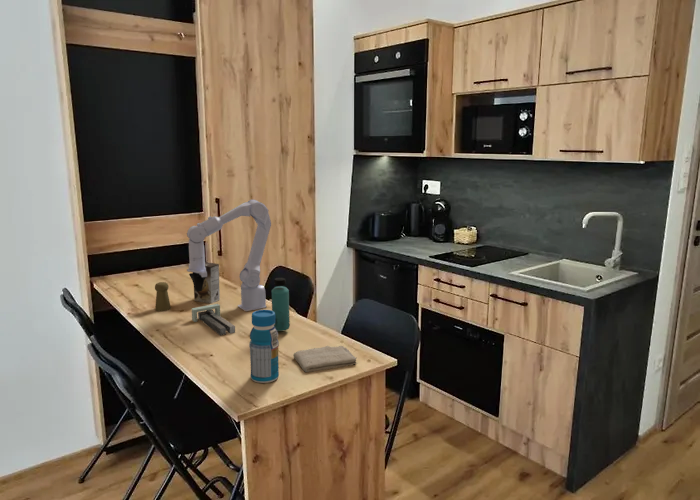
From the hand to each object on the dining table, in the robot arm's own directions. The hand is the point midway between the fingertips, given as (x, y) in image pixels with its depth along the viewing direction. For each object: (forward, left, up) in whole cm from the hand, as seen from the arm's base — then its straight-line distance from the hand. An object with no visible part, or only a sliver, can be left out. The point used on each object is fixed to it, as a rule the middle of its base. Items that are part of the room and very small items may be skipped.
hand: (198, 291), depth 208 cm
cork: (+10, -14, -10) cm, 20 cm away
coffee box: (-9, -15, -10) cm, 20 cm away
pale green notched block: (0, +7, -9) cm, 12 cm away
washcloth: (-16, +65, -10) cm, 68 cm away
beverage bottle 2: (-17, +35, -10) cm, 40 cm away
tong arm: (-2, +16, -9) cm, 18 cm away
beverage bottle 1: (+5, +65, -10) cm, 66 cm away
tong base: (0, +16, -9) cm, 18 cm away
